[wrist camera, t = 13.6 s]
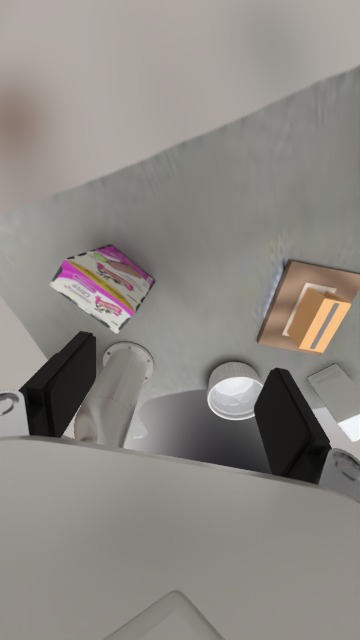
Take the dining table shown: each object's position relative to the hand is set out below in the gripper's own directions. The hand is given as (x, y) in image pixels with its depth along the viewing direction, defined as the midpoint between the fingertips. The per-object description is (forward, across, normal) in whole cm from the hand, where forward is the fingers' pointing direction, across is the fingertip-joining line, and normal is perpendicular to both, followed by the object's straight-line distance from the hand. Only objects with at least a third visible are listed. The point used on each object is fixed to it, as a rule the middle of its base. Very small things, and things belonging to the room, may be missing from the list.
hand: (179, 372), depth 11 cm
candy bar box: (+34, +12, +5) cm, 36 cm away
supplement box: (+34, -38, +22) cm, 55 cm away
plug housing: (+32, -25, +6) cm, 41 cm away
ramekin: (+34, -16, +27) cm, 46 cm away
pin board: (+33, -25, +6) cm, 42 cm away
